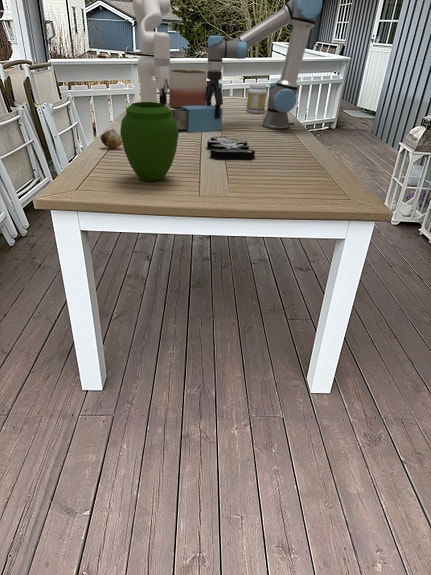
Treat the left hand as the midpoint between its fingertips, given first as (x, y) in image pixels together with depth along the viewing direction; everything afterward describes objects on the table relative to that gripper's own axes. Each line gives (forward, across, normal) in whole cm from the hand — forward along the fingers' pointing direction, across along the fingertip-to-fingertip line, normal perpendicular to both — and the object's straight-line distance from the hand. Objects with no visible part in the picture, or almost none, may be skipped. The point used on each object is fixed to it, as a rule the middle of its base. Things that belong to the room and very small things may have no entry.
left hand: (163, 103), depth 207 cm
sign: (+13, +46, +15) cm, 50 cm away
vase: (+13, +75, -30) cm, 82 cm away
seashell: (+13, +29, -34) cm, 46 cm away
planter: (+13, -71, +42) cm, 83 cm away
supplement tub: (+13, -45, +81) cm, 94 cm away
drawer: (+12, 0, +8) cm, 15 cm away
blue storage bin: (+13, 0, +22) cm, 25 cm away
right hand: (+7, 0, +28) cm, 29 cm away
